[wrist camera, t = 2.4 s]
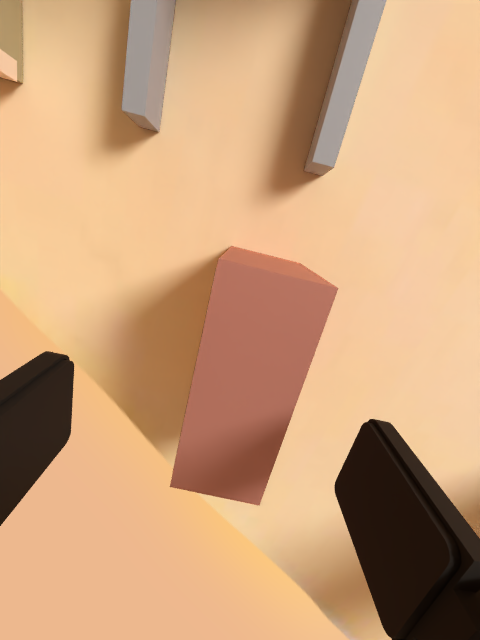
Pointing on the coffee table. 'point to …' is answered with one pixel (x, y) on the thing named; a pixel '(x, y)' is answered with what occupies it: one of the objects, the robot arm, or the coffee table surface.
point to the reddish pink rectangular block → (249, 372)
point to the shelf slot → (356, 42)
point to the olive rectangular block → (11, 40)
